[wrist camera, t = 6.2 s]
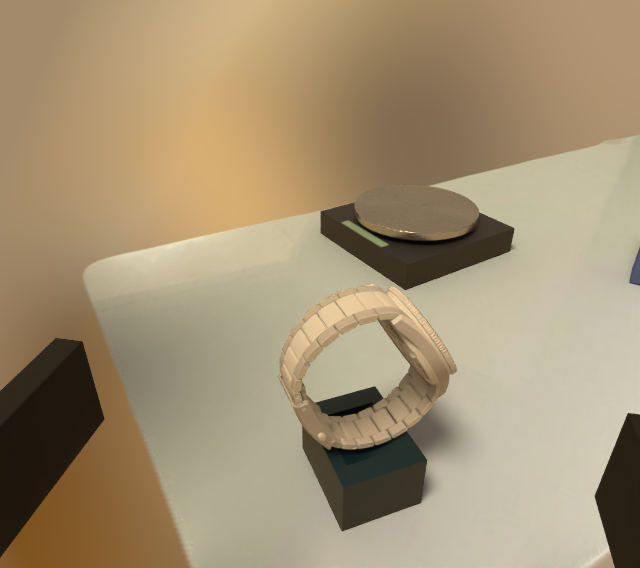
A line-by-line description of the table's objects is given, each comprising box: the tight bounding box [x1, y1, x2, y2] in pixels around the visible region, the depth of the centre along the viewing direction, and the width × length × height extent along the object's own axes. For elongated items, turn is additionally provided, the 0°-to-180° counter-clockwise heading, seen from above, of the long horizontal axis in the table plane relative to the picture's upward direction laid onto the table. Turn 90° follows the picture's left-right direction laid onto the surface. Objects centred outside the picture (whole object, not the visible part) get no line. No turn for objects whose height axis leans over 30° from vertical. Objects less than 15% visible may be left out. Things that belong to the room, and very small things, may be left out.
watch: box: [278, 284, 457, 531], centre depth 26 cm, size 6×8×11 cm
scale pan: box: [354, 185, 479, 241], centre depth 50 cm, size 12×12×1 cm
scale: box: [321, 203, 514, 289], centre depth 51 cm, size 13×13×2 cm
